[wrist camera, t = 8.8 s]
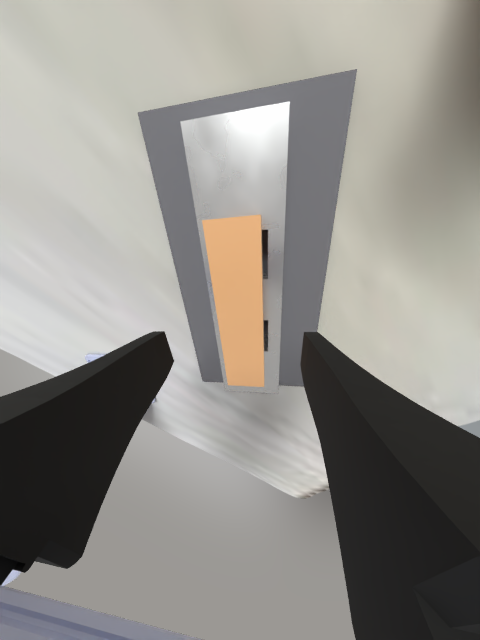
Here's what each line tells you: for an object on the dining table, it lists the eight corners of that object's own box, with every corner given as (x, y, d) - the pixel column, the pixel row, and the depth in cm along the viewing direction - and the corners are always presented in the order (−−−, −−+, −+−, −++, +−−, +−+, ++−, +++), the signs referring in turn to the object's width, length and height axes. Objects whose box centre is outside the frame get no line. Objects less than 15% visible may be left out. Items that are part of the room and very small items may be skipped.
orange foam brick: (264, 340, 20) (264, 387, 14) (238, 340, 20) (227, 385, 15) (262, 218, 14) (260, 214, 9) (226, 221, 15) (202, 220, 9)
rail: (276, 373, 22) (278, 393, 19) (229, 371, 23) (225, 390, 20) (284, 128, 12) (289, 101, 9) (197, 142, 13) (180, 121, 10)
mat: (307, 382, 23) (308, 386, 22) (204, 378, 25) (202, 381, 24) (352, 76, 11) (356, 69, 10) (142, 117, 13) (137, 112, 12)
